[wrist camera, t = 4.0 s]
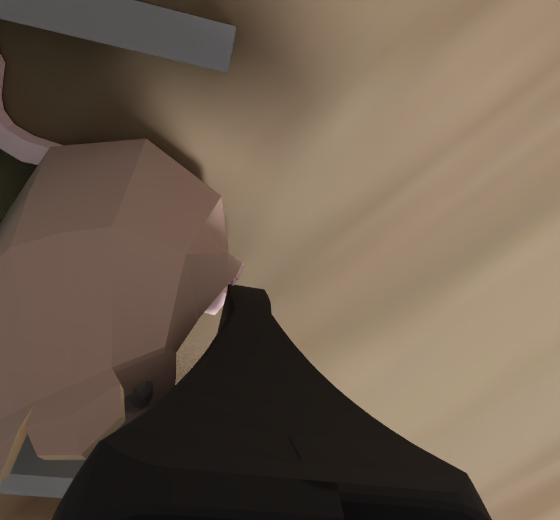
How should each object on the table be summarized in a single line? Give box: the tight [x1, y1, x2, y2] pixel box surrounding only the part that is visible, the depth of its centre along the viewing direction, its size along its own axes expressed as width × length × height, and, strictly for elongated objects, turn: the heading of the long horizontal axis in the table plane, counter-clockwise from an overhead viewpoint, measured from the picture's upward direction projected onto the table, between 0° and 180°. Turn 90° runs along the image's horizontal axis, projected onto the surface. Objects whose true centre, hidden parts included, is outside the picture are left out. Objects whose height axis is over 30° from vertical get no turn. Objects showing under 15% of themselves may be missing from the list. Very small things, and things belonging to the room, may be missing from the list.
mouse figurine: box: [0, 54, 244, 483], centre depth 8 cm, size 5×8×7 cm, turn 27°
